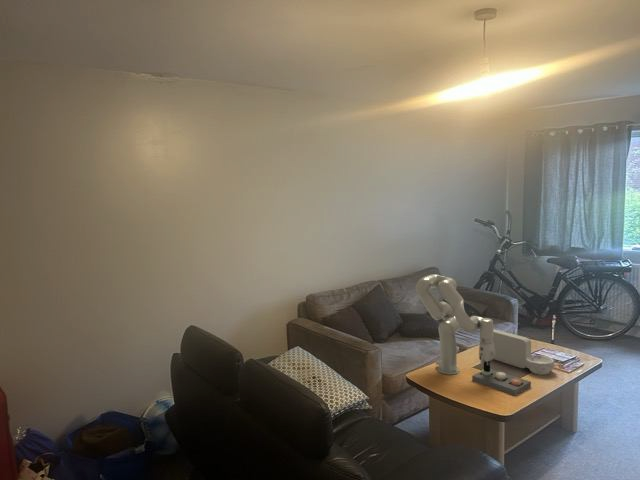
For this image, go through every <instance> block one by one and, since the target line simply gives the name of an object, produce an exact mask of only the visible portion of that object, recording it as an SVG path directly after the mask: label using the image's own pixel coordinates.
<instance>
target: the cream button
mask: <svg viewBox="0 0 640 480" xmlns="http://www.w3.org/2000/svg"><path fill="white" fill-rule="evenodd" d="M506 374H507V373H506V372H503V371H499V372H497V373H496V378H497V379H499V380H505V379H506Z"/></svg>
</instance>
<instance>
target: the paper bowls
mask: <svg viewBox="0 0 640 480" xmlns="http://www.w3.org/2000/svg"><path fill="white" fill-rule="evenodd" d="M526 368H527V369H529V371H530V372H531V373H532V374H535V375H540V376H542V375H544V376H545V375H546V376H547V375H549V374H550V372H552V371H554V370H555V369H554V368H555V361H554V358H551V357H549V356H546V355H542V354H541V355H539V354H531V356H528V357H526Z"/></svg>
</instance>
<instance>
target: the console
mask: <svg viewBox="0 0 640 480" xmlns="http://www.w3.org/2000/svg"><path fill="white" fill-rule="evenodd" d="M490 370H491V376H489V377H487V376H484V375H482V370H481V371H479V372H477V373H475V374H473V375H472V376H471V379H472V380H471V381H472V382H475V383H478V384H481V385H484V386H486V387H489V388H492V389H494V390H498V391H501V392H503V393H506V394H508V395H511V396H517V395H519V394H520V393H522V392H524V391H526V390H528V389H529V388H531V387H532V381H530V380H528V379H524V378H520V377H518V376H514V375H511V374H507V373H505V374H506V379H505V380H499V379H497V378H496V373H497V372H500V371H498V370H496V369H492V368H490ZM511 379H519V380H521V386H519V387H517V386H514V385H511Z"/></svg>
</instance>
